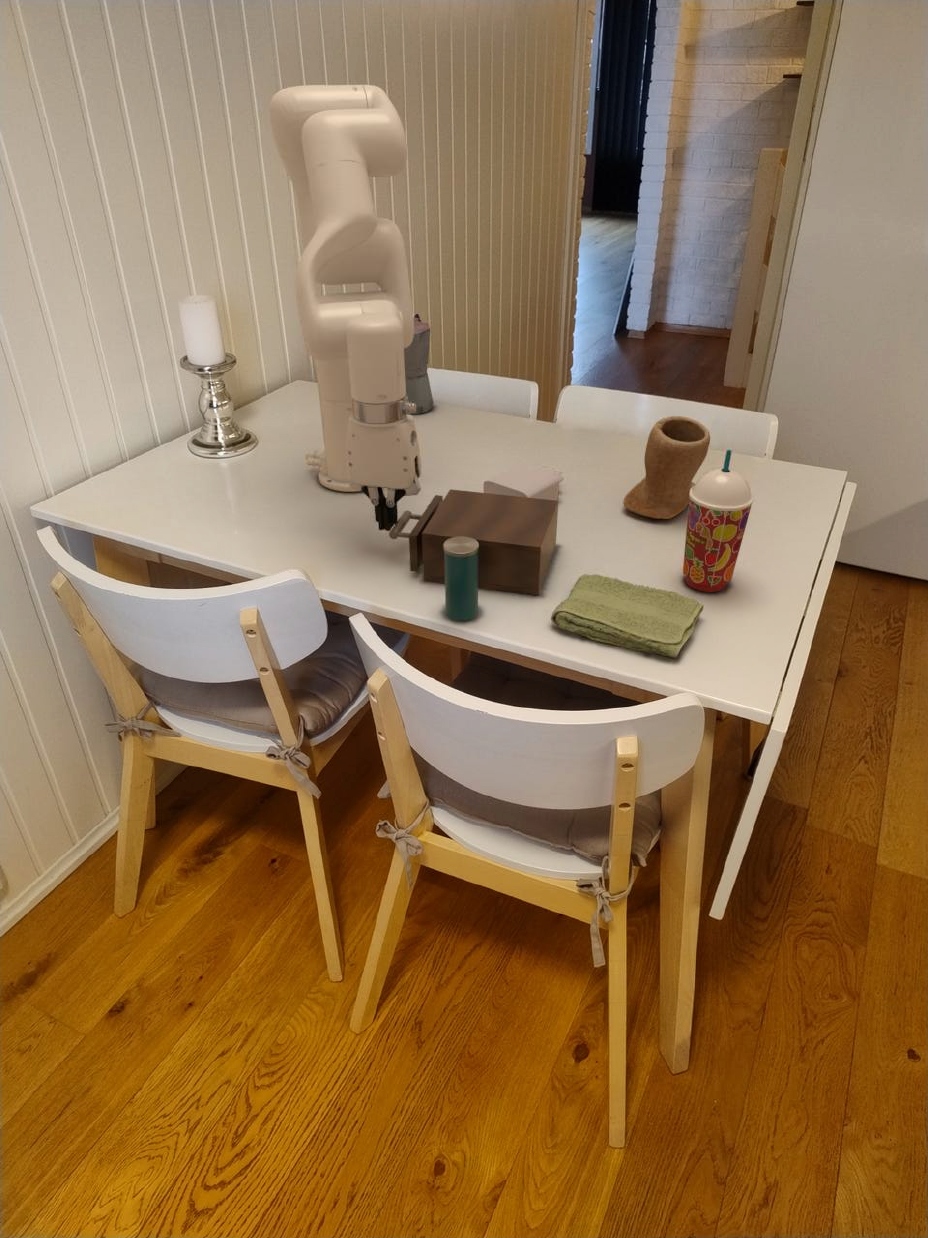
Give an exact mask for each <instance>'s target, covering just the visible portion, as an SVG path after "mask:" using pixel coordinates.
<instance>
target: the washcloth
mask: <svg viewBox="0 0 928 1238" xmlns="http://www.w3.org/2000/svg"><path fill="white" fill-rule="evenodd" d="M569 591H570V592H569V595H568V597H567V598H565V599H564V600H563V601H561V602H560V603H559V604H558V605H557V606H556V607H555V609H554V610H553V611H552V613H551V617H550V621H551V622H552V624H553V625H554V626H555V627H557V628H559V629H561V630H563V631H566V632H571V633H572V632H573V633H575V634H578V635H580V636H583V637H587V638H588V639H589V640H592V641H596V642H600V643H606V644H611V645H613V646H618V647H623V648H626V649H631V650H634V651H641V652H644V653H648V654H649V653H650V654H657V655H660V656H665V657H669V658H677V657H678V655H679V653H680V651H681V649H682V648H683V646H684V645H685V643H686V642H687V641H688V640H689V638H691V635H692V634H693V633H694V629H695V624H696V622H697V620H698V618H699V616H700V615H701V614H702V612H703V611H704V606H705V605H704V604H702V603H700V602H699V601H698V600H696V599H693V598H690V597H688V596H686V595H683V594H681V593H678V592H675V591H669V590H665V589H661V588H660V589H659V588H656V587H651V586H650V585H649V586H645V585H642V584H633V583H631V582H628V581H624V580H621V579H619V578H613V577H609V576H604V575H601V574H582V575H581V576H579V577H578V578H577V580H576V582H575V583H574V584H573V587H572V588H571V589H570V590H569Z"/></svg>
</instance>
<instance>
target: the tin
mask: <svg viewBox="0 0 928 1238" xmlns="http://www.w3.org/2000/svg"><path fill="white" fill-rule="evenodd" d="M443 549H444V562H445V583H444V593H445V594H444V603H445V615H446V617H447V618H448V619H450V620H452V621H455V622H468V621H472V620H473V619H475V618H476V617H477V616H478V614H479V588H478V550H479V543H478V542H477V541H476V540H475V539H473V538H470V537H463V536H460V537H453V538H450V539H448V540H446V541H445V542H444V544H443Z"/></svg>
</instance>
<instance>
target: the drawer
mask: <svg viewBox="0 0 928 1238" xmlns="http://www.w3.org/2000/svg"><path fill="white" fill-rule="evenodd" d="M443 500H444V496H443V495H438V494H436V495H434V497H433V498H432V500H431V501H430V503H429V504H428V506H426V509H425V510H424V512H423V513H422V514H417V513H416V514H415V513H412V512H411V511H410V510H404V511H403V513H402V514H401V516H399V517H398V520H397V522H396V524H394V526H393V527H392V528H391V530H390V531H388V537H389V538H390V539H391V540H397V539H398V538H404V539H408V549H409V550H408V551H409V569H410V572H412V573H413V572H414V573H418V572H420V570H421V568H422V566H423V545H422V533H423V531H424V529H425V528H426V526H427V525H428V523H429V522H430V520H431V518H432V517H433V515H434V514H435V512H436V511H437V509H438V508H439V506H440V504H441V503H442V501H443ZM410 520H414V521H415V520H416V521H417V522H416V524H415V525H414V527H413V528H412V530H411V531H410V532H403V530H404V529H405V527H406V526H407V525H408V524H409V522H410Z"/></svg>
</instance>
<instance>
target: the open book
mask: <svg viewBox="0 0 928 1238" xmlns="http://www.w3.org/2000/svg"><path fill="white" fill-rule="evenodd" d="M561 474H563V470H559V471H557V470H555V469H554V468H552V467H551V468H548V467H541V468H533V467H531V466H528V465H523V464H517V465H515V466H512V467H511V468H508V469H507V470H504V471H503V472H501V473H499V474H497V475H495V476H493V477H491V478H489V479H487V480H485V481H483V493H490V494H499V495H508V496H518V497H527V498H537V499H546V500H556V501H558V500H559V490H560V489H559V488H560V483H561V482H563V481H564V477H563V475H561Z"/></svg>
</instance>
